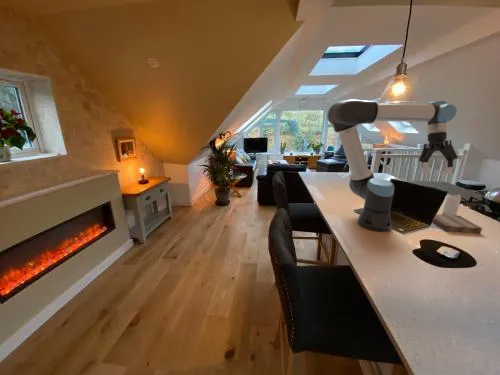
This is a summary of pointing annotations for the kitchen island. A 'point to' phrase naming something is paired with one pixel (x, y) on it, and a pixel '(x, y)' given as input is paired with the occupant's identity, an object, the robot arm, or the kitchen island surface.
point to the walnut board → (456, 224)
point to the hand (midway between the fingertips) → (436, 174)
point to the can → (451, 204)
